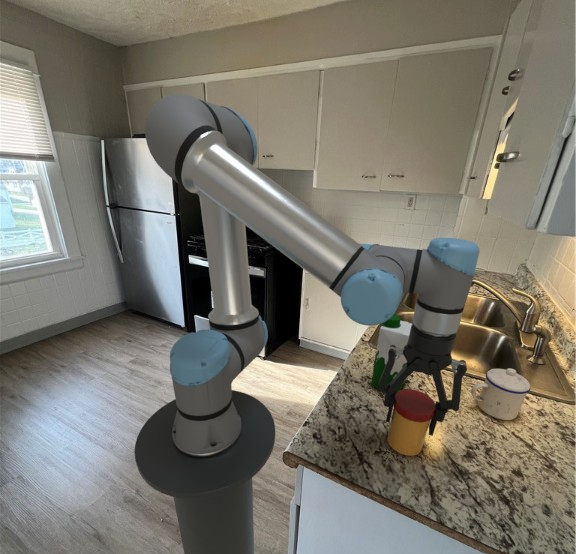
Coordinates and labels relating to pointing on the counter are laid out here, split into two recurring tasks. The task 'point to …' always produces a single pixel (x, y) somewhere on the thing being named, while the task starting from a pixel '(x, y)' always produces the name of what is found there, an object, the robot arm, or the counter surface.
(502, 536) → the counter surface
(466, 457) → the counter surface
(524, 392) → the teacup with lid
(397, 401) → the jam lid
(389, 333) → the milk carton
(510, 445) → the counter surface
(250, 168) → the robot arm
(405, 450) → the jam jar
